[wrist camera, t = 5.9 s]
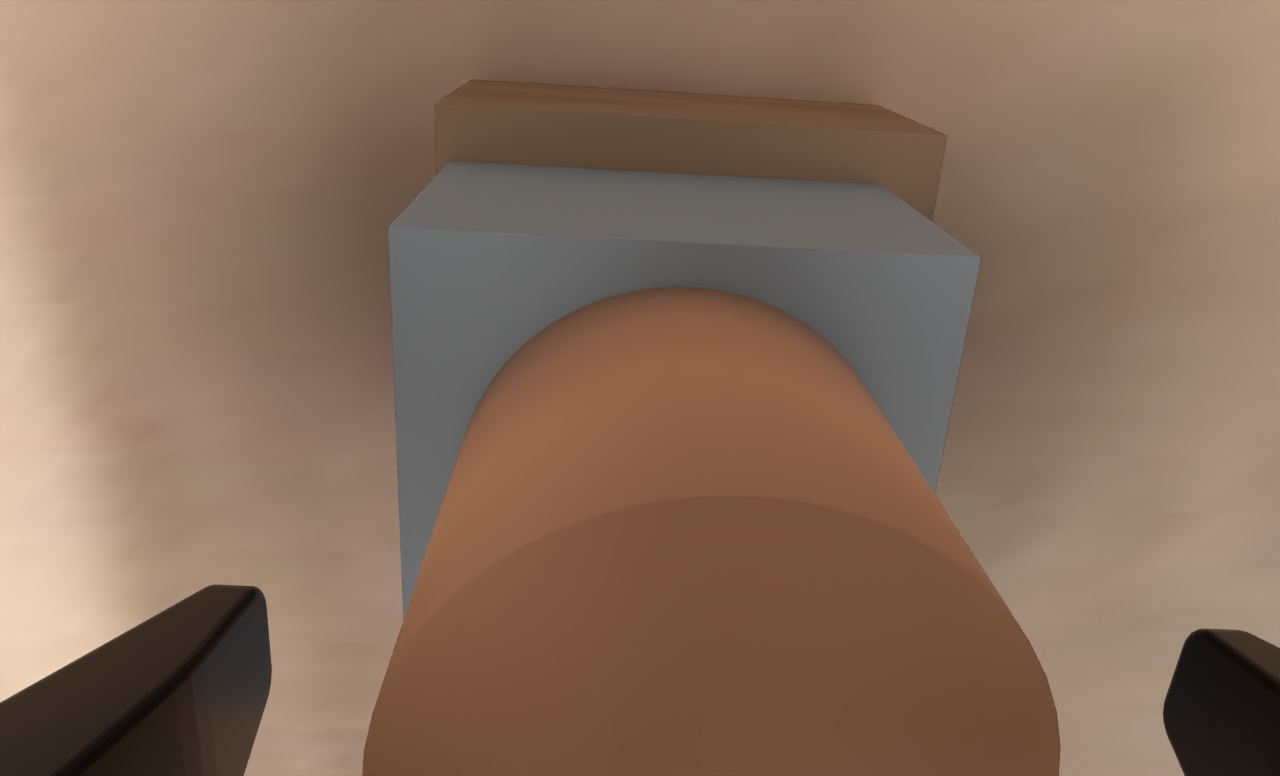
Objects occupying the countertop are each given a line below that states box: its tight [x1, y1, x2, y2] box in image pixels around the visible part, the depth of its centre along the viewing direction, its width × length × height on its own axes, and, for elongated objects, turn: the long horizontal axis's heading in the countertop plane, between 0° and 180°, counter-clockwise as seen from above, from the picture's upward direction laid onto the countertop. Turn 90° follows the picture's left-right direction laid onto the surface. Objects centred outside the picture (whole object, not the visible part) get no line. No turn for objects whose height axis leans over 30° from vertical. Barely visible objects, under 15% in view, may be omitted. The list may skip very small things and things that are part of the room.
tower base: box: [435, 80, 947, 221], centre depth 16 cm, size 7×7×4 cm
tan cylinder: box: [363, 287, 1060, 776], centre depth 9 cm, size 5×5×4 cm
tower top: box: [388, 161, 981, 621], centre depth 13 cm, size 6×6×4 cm
